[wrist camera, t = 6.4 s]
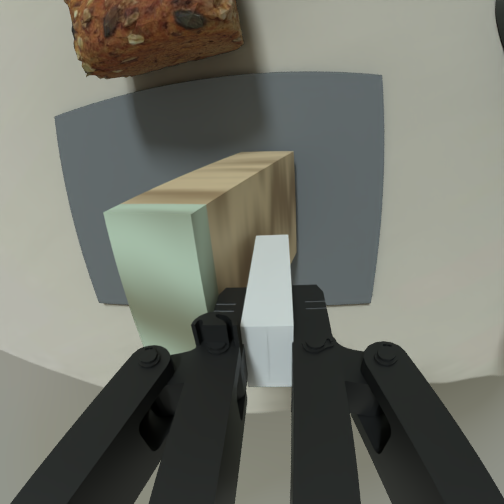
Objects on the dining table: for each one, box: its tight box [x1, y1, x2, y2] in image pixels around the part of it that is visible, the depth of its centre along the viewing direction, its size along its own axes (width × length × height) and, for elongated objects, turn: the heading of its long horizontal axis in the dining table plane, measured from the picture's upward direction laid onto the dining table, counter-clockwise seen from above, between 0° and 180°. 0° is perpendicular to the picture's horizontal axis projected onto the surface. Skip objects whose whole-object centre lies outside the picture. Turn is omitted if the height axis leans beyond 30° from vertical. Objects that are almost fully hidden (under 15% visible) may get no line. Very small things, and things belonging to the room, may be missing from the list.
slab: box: [103, 151, 297, 355], centre depth 17 cm, size 8×4×14 cm, turn 4°
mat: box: [55, 72, 384, 305], centre depth 25 cm, size 20×28×1 cm
